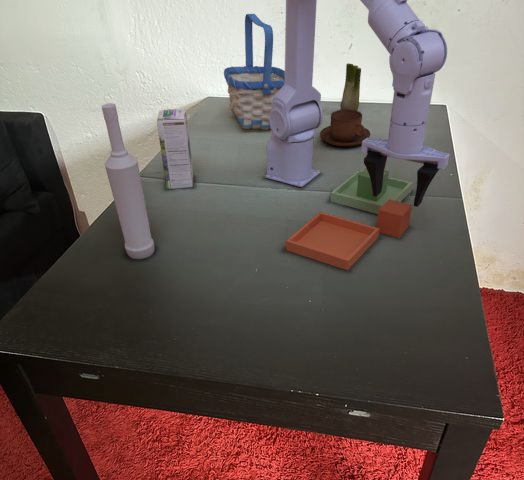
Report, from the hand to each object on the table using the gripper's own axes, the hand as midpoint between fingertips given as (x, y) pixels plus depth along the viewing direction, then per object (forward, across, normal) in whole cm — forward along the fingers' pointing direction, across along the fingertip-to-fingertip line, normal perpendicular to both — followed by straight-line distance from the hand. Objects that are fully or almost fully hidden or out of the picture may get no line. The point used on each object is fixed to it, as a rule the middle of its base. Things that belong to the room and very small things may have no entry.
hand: (396, 199), depth 93 cm
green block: (+6, +9, -10) cm, 15 cm away
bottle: (+6, +35, +30) cm, 47 cm away
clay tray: (+6, +7, +10) cm, 14 cm away
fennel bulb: (+6, +35, -51) cm, 62 cm away
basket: (+6, +53, -34) cm, 63 cm away
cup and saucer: (+6, +27, -33) cm, 43 cm away
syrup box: (+6, +47, +5) cm, 48 cm away
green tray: (+6, +9, -10) cm, 15 cm away
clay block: (+6, 0, 0) cm, 6 cm away
